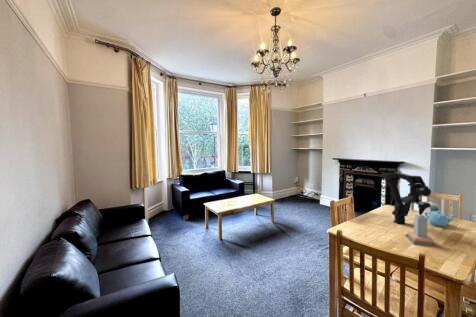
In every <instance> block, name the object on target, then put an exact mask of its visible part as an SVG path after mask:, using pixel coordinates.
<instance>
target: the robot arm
mask: <svg viewBox="0 0 476 317" xmlns="http://www.w3.org/2000/svg"><path fill="white" fill-rule="evenodd" d="M400 179H401V180H404V181H407V182H408V184H407V186H409V193H407V195H405V196H401V193H400V191H399V188H398V185H399V181H400ZM384 181H385V183H386V185H387V186H388V187H389V188H390V191H391V194H392V197H393V200H394V204H395V205H394V209H393V210H392V215H393V216H394V220H392V222H393V223H395V224H398V225H406V224H407V222H406V217H408V215H409V212H410V211H411V205H412V204H416V205H417V208H418V215H423V212H424V210H425V209H426V208H428V207H430V203H427V202H428V201H422V199H421V197H422V196H424V197H429V196H430V195H431V193H432V190H431V189H430V188H429V186H428V185H426V183H425V181H424V179H423V178H422V176H420V175H410V174H406V173H402V172H400V171H394V172H393V173H390V174H389V175H387V176H386V177H385V179H384Z"/></svg>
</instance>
